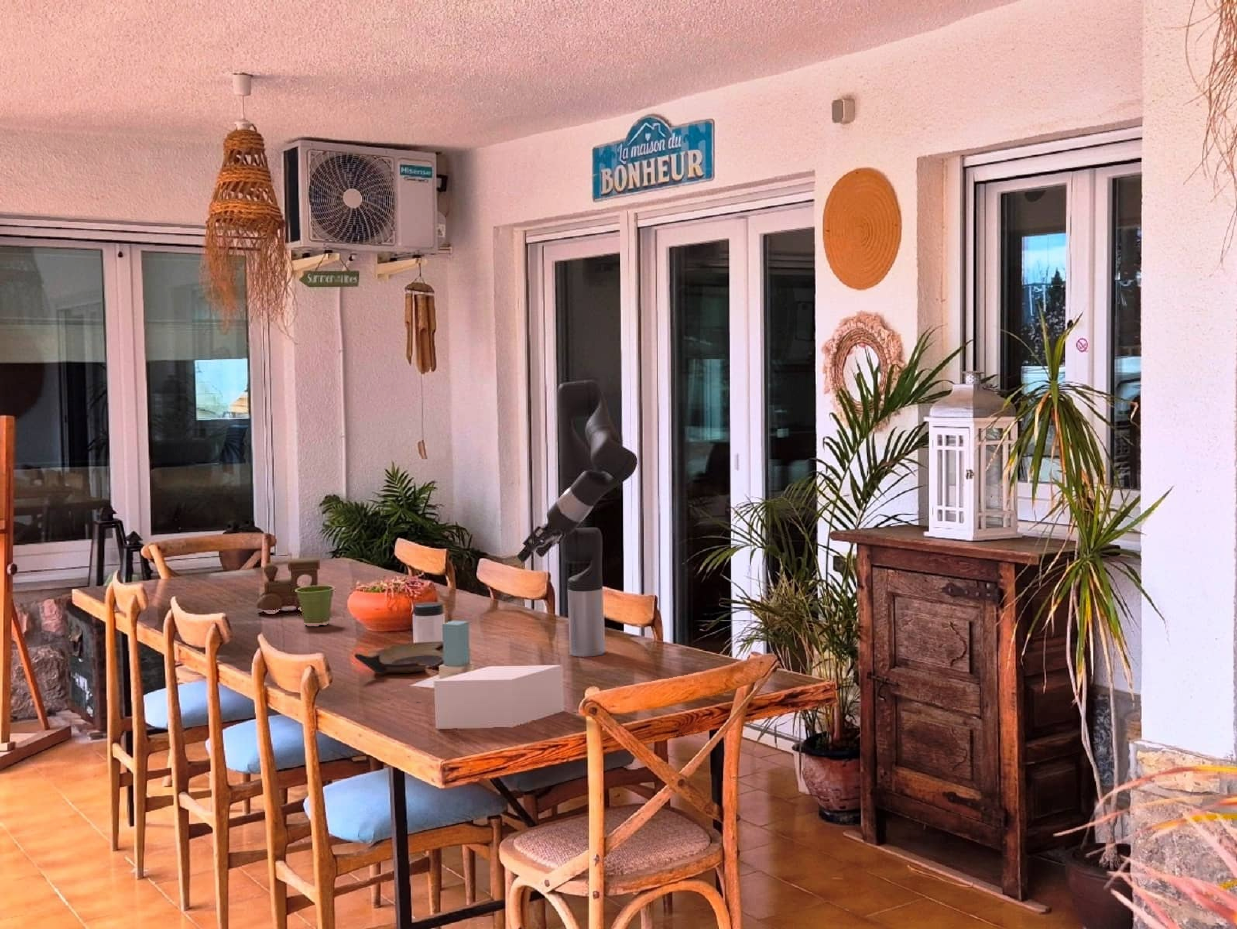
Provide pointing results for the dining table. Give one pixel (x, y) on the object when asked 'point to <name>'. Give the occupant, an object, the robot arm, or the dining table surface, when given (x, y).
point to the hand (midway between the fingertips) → (529, 556)
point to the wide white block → (498, 696)
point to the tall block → (456, 643)
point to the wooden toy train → (287, 583)
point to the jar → (428, 622)
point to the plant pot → (315, 603)
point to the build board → (427, 682)
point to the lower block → (454, 670)
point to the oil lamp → (404, 658)
